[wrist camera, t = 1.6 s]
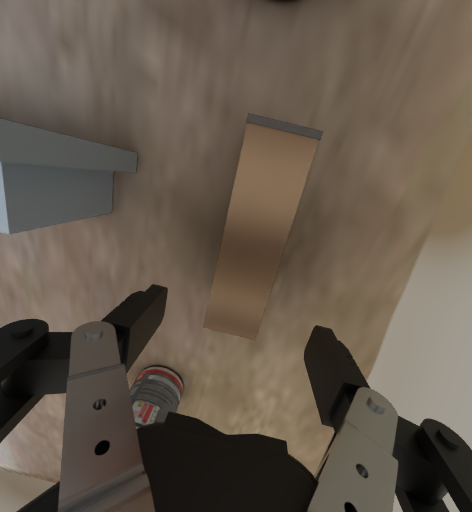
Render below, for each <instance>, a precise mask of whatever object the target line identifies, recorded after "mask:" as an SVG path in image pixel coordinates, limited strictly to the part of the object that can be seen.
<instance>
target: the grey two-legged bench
mask: <svg viewBox="0 0 472 512" xmlns="http://www.w3.org/2000/svg"><path fill="white" fill-rule="evenodd" d="M137 155H138V153H135V152H131V151H127V150H123V149H119V148H115V147H111V146H107V145H103V144H99V143H95V142H91V141H88V140H84V139H80V138H76V137H72V136H68V135H64V134H60V133H56V132H52V131H48V130H44V129H40V128H36V127H32V126H28V125H24V124H20V123H16V122H12V121H8V120H4V119H0V232H2V233H6V234H13V233H18V232H23V231H28V230H32V229H37V228H42V227H47V226H51V225H56V224H61V223H66V222H70V221H75V220H80V219H85V218H90V217H94V216H99V215H104V214H109V213H112V196H113V174H114V171H119V172H131V173H136V168H137Z"/></svg>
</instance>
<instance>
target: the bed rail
mask: <svg viewBox="0 0 472 512" xmlns="http://www.w3.org/2000/svg"><path fill="white" fill-rule="evenodd" d="M246 123H247V126H246V131H245V135H244V140H243V144H242V149H241V154H240V158H239V163H238V168H237V172H236V177H235V181H234V186H233V191H232V195H231V200H230V204H229V209H228V214H227V218H226V223H225V228H224V232H223V237H222V241H221V246H220V251H219V255H218V260H217V264H216V269H215V274H214V278H213V283H212V288H211V292H210V297H209V301H208V306H207V311H206V315H205V320H204V325H203V327H204V328H208V329H212V330H216V331H220V332H224V333H228V334H232V335H236V336H240V337H244V338H248V339H252V340H256V336H257V333H258V330H259V327H260V324H261V321H262V318H263V314H264V311H265V308H266V305H267V302H268V299H269V296H270V292H271V289H272V286H273V283H274V280H275V277H276V274H277V270H278V267H279V264H280V261H281V258H282V255H283V252H284V248H285V245H286V242H287V239H288V236H289V233H290V230H291V226H292V223H293V220H294V217H295V214H296V211H297V208H298V204H299V201H300V198H301V195H302V192H303V189H304V186H305V182H306V179H307V176H308V173H309V170H310V167H311V164H312V160H313V157H314V154H315V151H316V148H317V145H318V141H319V140H321V136H322V133H323V131H320V130H315V129H311V128H307V127H303V126H299V125H295V124H291V123H287V122H282V121H278V120H274V119H270V118H266V117H262V116H258V115H254V114H249V113H248V116H247V121H246Z"/></svg>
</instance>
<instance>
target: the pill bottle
mask: <svg viewBox="0 0 472 512" xmlns="http://www.w3.org/2000/svg"><path fill="white" fill-rule="evenodd" d="M129 391H130V397H131V402H132V408H133V413H134V419H135V424H136V429H137V428H139V427H142V426H144V425H148V424H151V423H157V422H165V419H166V416H167V414H168V411H169V412H173V413H176V411H177V408H178V405H179V403H180V400H181V397H182V394H183V385H182V382H181V380H180V378H179V377H178V376H177V375H176V374H175V373H174V372H172V371H171V370H169V369H166V368H163V367H150V368H147V369H145V370H144V371H142V372H141V373H140V374H139V375H138V377H137V378H136V380H135V382H134V383H133V385H132V387H131V388H130V390H129Z"/></svg>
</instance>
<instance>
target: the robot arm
mask: <svg viewBox="0 0 472 512" xmlns="http://www.w3.org/2000/svg"><path fill="white" fill-rule="evenodd" d="M167 292H168V289H167V287H163V286H159V285H155V284H153V285H151V286H150V287H149V288H148V289H147V290H146V291H145V292H143V291H138V292H136V293H133V294H131V295H130V296H129V297H128V298H126V299H125V301H123V302H122V303H121V304H120V305H119V306H117V307H116V308H115V309H114V310H113V311H112V312H110V313H109V314H108V315H107V316H106V317H105V318H104V319H102V320H101V321H95V322H89V323H86V324H83V325H81V326H79V327H78V328H76V329H75V330H74V331H73V332H49V326H48V324H47V323H46V322H45V321H43V320H39V319H25V320H20V321H16V322H12V323H10V324H7V325H5V326H3V327H2V328H0V443H1V442H2V440H3V439H4V438H5V437H6V436H7V435H8V434H9V433H10V432H11V431H12V430H13V429H14V427H15V426H16V425H17V424H18V423H19V422H20V421H21V420H22V419H23V418H24V417H25V416H26V415H27V413H28V412H29V411H30V410H31V409H32V408H33V407H34V406H35V405H36V404H37V403H38V402H39V400H40V399H41V398H42V397H43V396H44V395H45V394H59V393H66V404H65V418H64V432H63V447H62V461H61V475H60V481H59V482H58V483H56V484H55V485H53V486H52V487H51V488H49V489H48V490H46V491H45V492H43V493H42V494H41V495H39V496H38V497H36V498H35V499H34V500H32V501H31V502H29V503H28V504H26V505H25V506H24V507H22V508H21V509H20V510H18V511H17V512H392V510H393V502H394V495H395V494H396V496H397V498H398V501H399V503H400V506H401V508H402V510H403V512H449V510H448V509H447V507H446V505H445V503H444V501H443V500H442V498H443V497H444V496H445V495H446V494H447V493H448V492H449V494H450V496H451V498H452V499H453V501H454V502H455V504H456V506H457V508H458V509H459V511H460V512H472V450H471V449H470V447H469V446H468V445H467V444H466V442H465V441H464V440H463V439H462V438H461V437H460V436H459V435H458V434H456V433H455V432H454V431H453V430H451V429H450V428H448V427H447V426H445V425H444V424H442V423H440V422H438V421H436V420H433V419H424V420H423V422H422V423H421V425H420V426H418V425H416V424H413V423H411V422H410V421H408V420H406V419H403V418H402V417H400V416H398V414H397V412H396V410H395V408H394V407H393V406H392V404H391V403H390V402H389V401H388V400H387V399H386V398H385V397H384V396H382V395H381V394H380V393H378V392H376V391H375V390H372V389H370V387H369V385H368V383H367V382H366V380H365V378H364V376H363V375H362V373H361V371H360V369H359V367H358V366H357V364H356V362H355V360H354V359H353V357H352V355H351V353H350V352H349V350H348V349H347V348H346V347H345V346H344V345H343V344H342V343H341V341H338V340H337V338H336V336H335V335H334V333H333V331H332V329H330V328H326V327H322V326H318V325H316V326H315V327H314V328H313V331H312V333H311V336H310V338H309V341H308V343H307V345H306V348H305V351H304V362H305V365H306V369H307V372H308V376H309V379H310V383H311V386H312V390H313V394H314V397H315V401H316V404H317V408H318V411H319V415H320V418H321V422H322V425H326V426H330V427H333V428H334V431H335V433H334V434H333V436H332V438H331V440H330V443H329V445H328V447H327V449H326V451H325V453H324V456H323V458H322V460H321V462H320V464H319V466H318V469H317V471H316V473H315V475H314V476H313V475H312V474H311V472H310V471H309V470H308V469H307V468H306V467H305V466H304V465H302V464H301V463H300V462H299V461H298V460H296V459H295V458H294V457H292V456H291V455H289V454H288V451H287V442H286V441H284V440H280V439H276V438H272V437H268V436H264V435H260V434H239V435H226V434H224V433H222V432H220V431H218V430H217V429H215V428H213V427H211V426H210V425H208V424H206V423H204V422H203V421H201V420H199V419H197V418H193V417H189V416H185V415H181V414H177V413H173V412H169V411H168V414H167V416H166V419H165V422H157V423H151V424H148V425H144V426H142V427H139V428H137V429H136V424H135V419H134V413H133V408H132V402H131V397H130V391H129V386H128V381H127V375H126V374H127V372H128V371H129V369H130V368H131V366H132V365H133V363H134V362H135V360H136V359H137V358H138V356H139V355H140V353H141V352H142V350H143V349H144V347H145V346H146V344H147V343H148V341H149V340H150V339H151V337H152V336H153V334H154V333H155V331H156V330H157V328H158V327H159V325H160V324H161V322H162V319H163V317H164V312H165V306H166V299H167Z"/></svg>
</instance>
